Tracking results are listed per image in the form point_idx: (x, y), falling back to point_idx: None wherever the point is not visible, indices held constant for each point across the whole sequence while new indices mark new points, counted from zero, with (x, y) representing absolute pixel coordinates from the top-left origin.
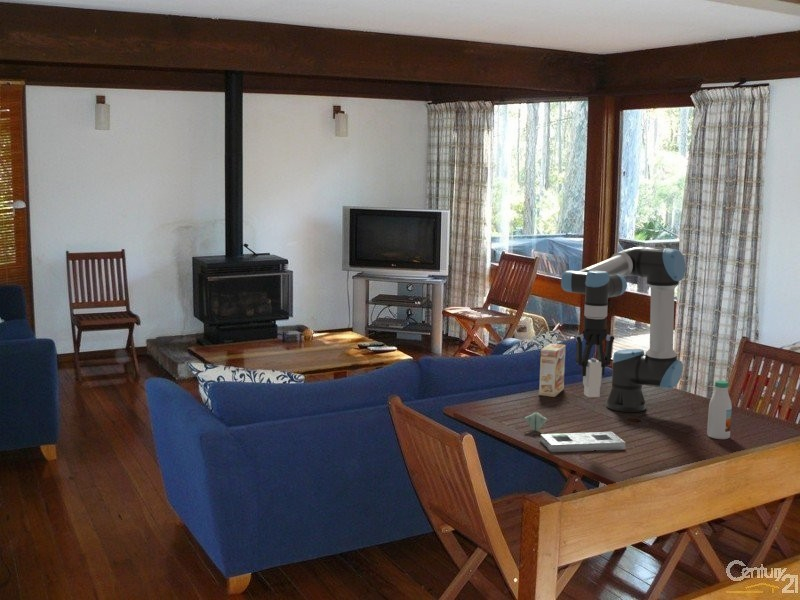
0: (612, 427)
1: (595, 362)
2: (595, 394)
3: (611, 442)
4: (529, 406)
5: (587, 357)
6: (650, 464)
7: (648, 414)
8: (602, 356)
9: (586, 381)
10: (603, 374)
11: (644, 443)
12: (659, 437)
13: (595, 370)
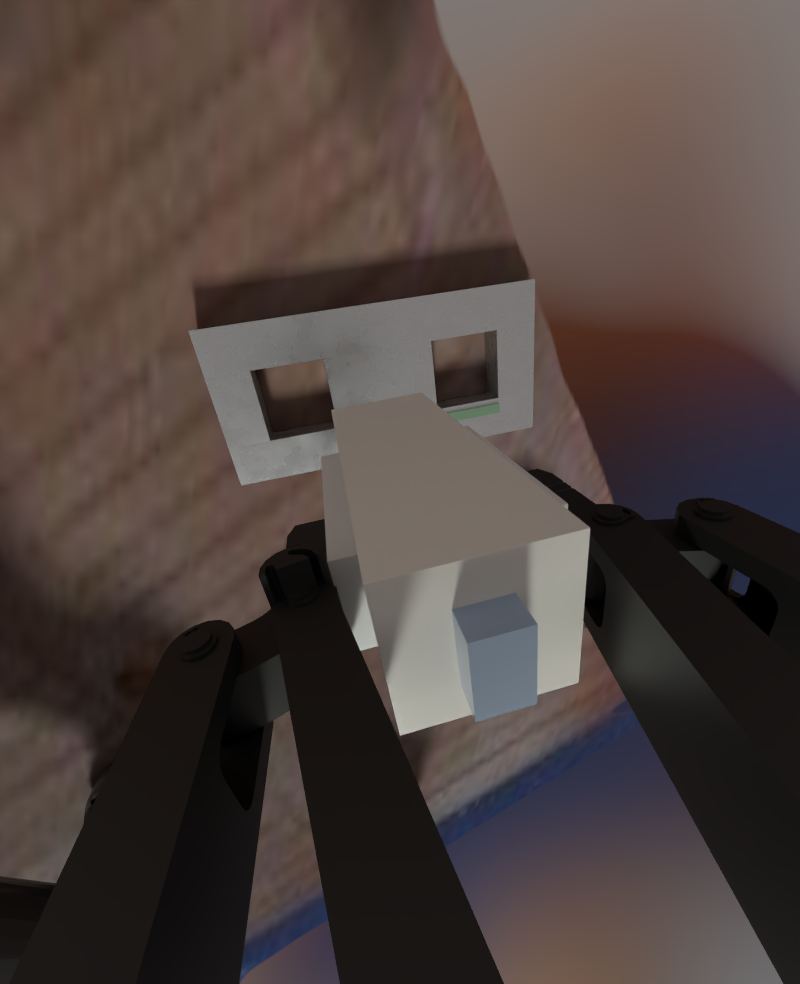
0: (229, 599)
1: (482, 552)
2: (367, 407)
3: (260, 324)
4: (459, 728)
5: (690, 613)
6: (63, 50)
7: (82, 746)
8: (341, 733)
9: (481, 440)
10: (297, 533)
11: (99, 422)
12: (26, 509)
13: (431, 487)
